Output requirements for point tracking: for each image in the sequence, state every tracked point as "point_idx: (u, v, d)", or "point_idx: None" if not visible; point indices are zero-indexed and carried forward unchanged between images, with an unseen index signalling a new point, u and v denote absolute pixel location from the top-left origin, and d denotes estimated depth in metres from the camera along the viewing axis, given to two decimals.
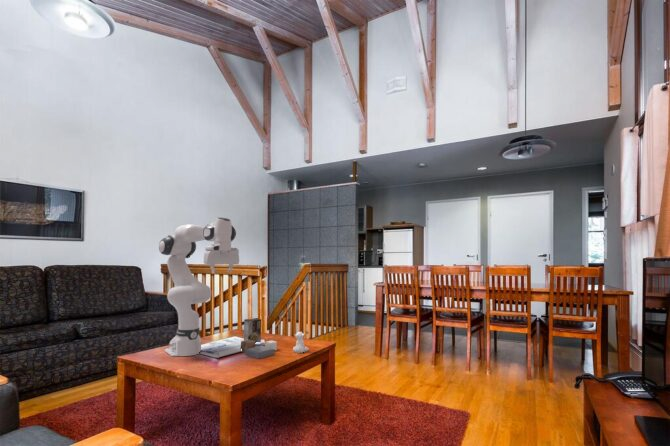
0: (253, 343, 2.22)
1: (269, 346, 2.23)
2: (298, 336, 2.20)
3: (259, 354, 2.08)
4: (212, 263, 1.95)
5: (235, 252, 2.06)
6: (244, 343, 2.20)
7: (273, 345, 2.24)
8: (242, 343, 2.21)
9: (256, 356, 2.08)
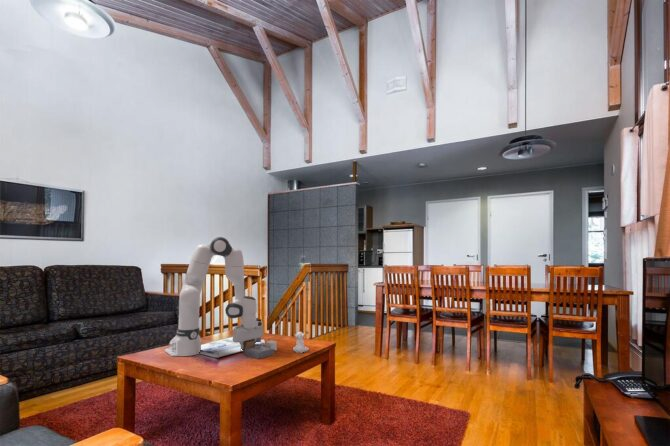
0: (253, 343, 2.22)
1: (269, 346, 2.23)
2: (298, 336, 2.20)
3: (259, 354, 2.08)
4: None
5: None
6: (244, 343, 2.20)
7: (273, 345, 2.24)
8: None
9: (256, 356, 2.08)
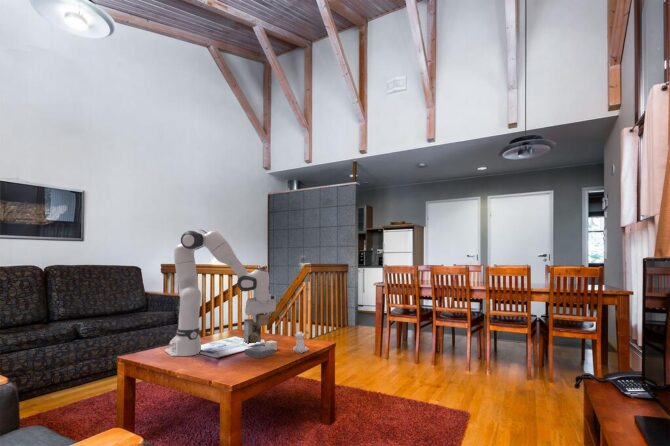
0: (266, 316, 2.16)
1: (269, 346, 2.23)
2: (298, 336, 2.20)
3: (259, 354, 2.08)
4: None
5: None
6: (257, 316, 2.14)
7: (273, 345, 2.24)
8: (255, 316, 2.15)
9: (256, 356, 2.08)
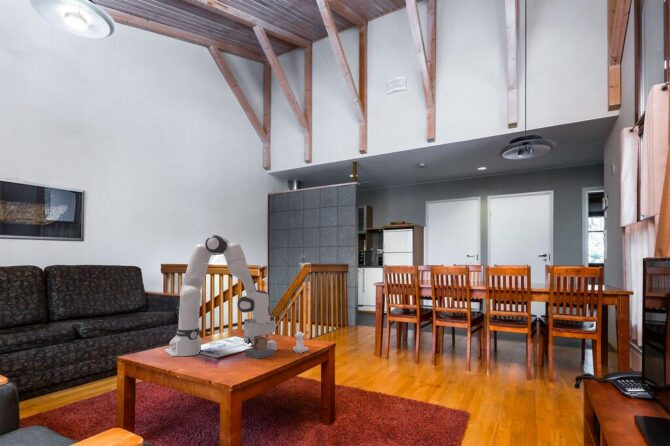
0: (265, 340, 2.15)
1: (269, 346, 2.23)
2: (298, 336, 2.20)
3: (259, 354, 2.08)
4: None
5: None
6: (256, 340, 2.13)
7: (273, 345, 2.24)
8: (254, 340, 2.14)
9: (256, 356, 2.08)
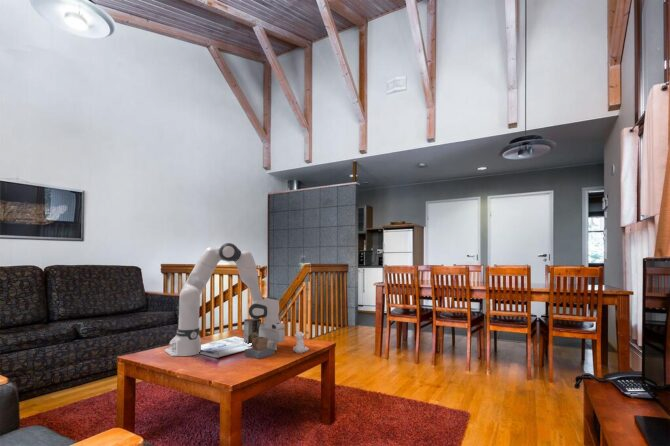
0: (265, 340, 2.15)
1: (269, 346, 2.23)
2: (298, 336, 2.20)
3: (259, 354, 2.08)
4: None
5: None
6: (256, 340, 2.13)
7: None
8: (254, 340, 2.14)
9: (256, 356, 2.08)
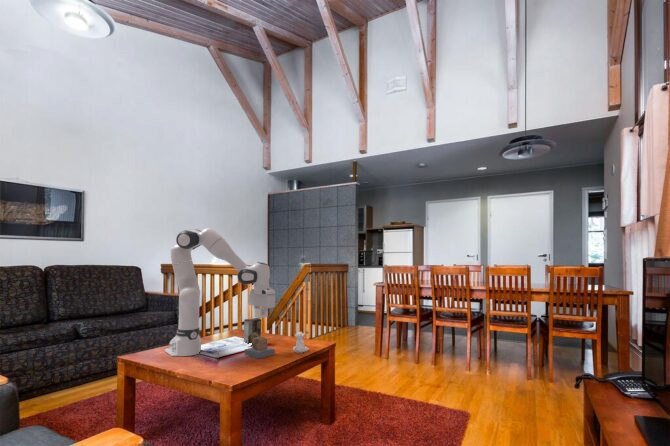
0: (265, 340, 2.15)
1: (259, 312, 2.14)
2: (298, 336, 2.20)
3: (259, 354, 2.08)
4: None
5: None
6: (256, 340, 2.13)
7: (262, 311, 2.15)
8: (254, 340, 2.14)
9: (256, 356, 2.08)
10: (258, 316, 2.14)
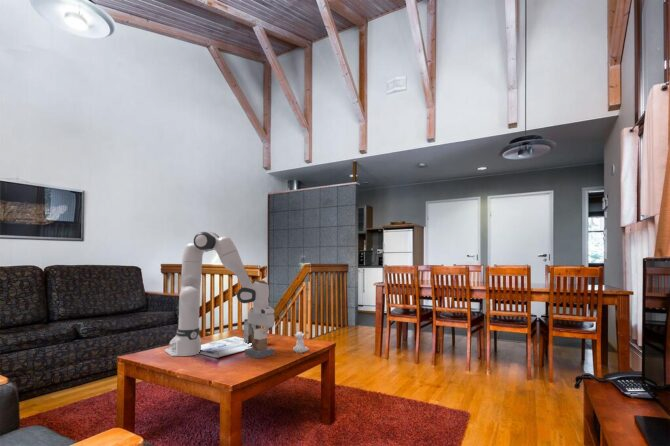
0: (265, 340, 2.15)
1: (258, 334, 2.13)
2: (298, 336, 2.20)
3: (259, 354, 2.08)
4: None
5: None
6: (256, 340, 2.13)
7: (262, 332, 2.14)
8: (254, 340, 2.14)
9: (256, 356, 2.08)
10: (257, 337, 2.13)
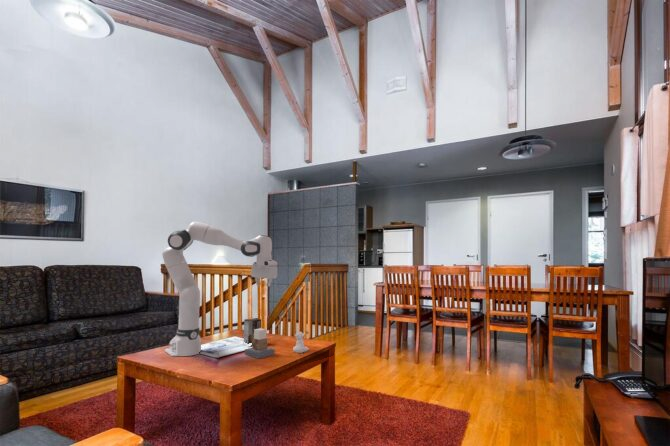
0: (265, 340, 2.15)
1: (258, 334, 2.13)
2: (298, 336, 2.20)
3: (259, 354, 2.08)
4: None
5: None
6: (256, 340, 2.13)
7: (262, 332, 2.14)
8: (254, 340, 2.14)
9: (256, 356, 2.08)
10: (257, 337, 2.13)
